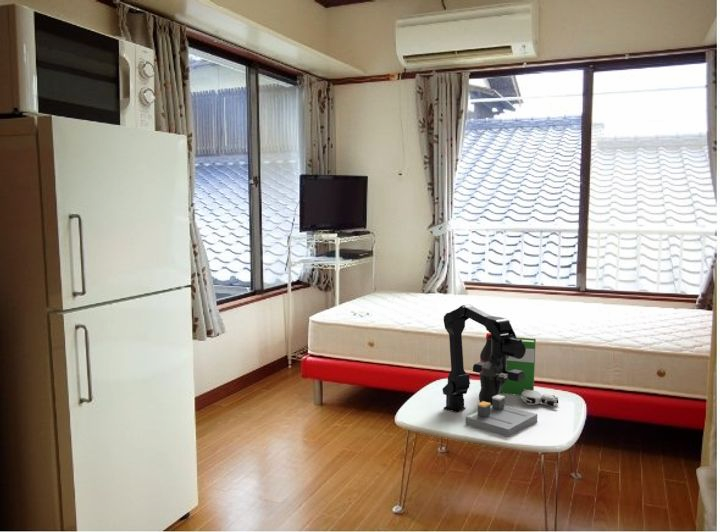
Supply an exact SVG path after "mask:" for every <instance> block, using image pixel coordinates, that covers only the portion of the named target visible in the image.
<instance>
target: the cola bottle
mask: <svg viewBox="0 0 720 532" xmlns="http://www.w3.org/2000/svg"><path fill="white" fill-rule="evenodd" d="M490 334H491V333H490V332H487V333H486V335H485V340H486V343H485V345H484V346H483V348H482V350H481V352H480V355H479V359H480V360H479V362H484V363H486V362H488V360H489V356H490V355H491V341H492V340H491V339H488V338H487V337H488V336H489V335H490ZM479 383H480V390H479V393H478V400H479V403H480V402H483V401H485V402H488V403H491V405H492V397H493V396H496V395H500V393H499V394H496V393H495V390H494V386H493V383H492V381H491V379H490V378H489V377H487V376H485V375H483V372H482V371H481V372H480V373H479ZM491 405H490V406H491Z"/></svg>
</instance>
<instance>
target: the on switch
mask: <svg viewBox="0 0 720 532" xmlns="http://www.w3.org/2000/svg"><path fill="white" fill-rule="evenodd" d="M505 399H506V396H504V395H500V394H499V395H496V396H493V397H492V408H493V409H497V410H500V409H502V408H504V406H505Z"/></svg>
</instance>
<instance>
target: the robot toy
mask: <svg viewBox="0 0 720 532" xmlns="http://www.w3.org/2000/svg"><path fill="white" fill-rule="evenodd" d="M524 390H525V391H523V392H522V393H521V395H520V398H521V400H522V402H524V403H526V404H527V405H528V406H534V405H539V404H542V405H545V406H547V407H558V405H559V397H558V396H556V395H554V394H547V393H543V394H542V393H541V392H539V391H537V390H534V391H532V390H526V389H524Z"/></svg>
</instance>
